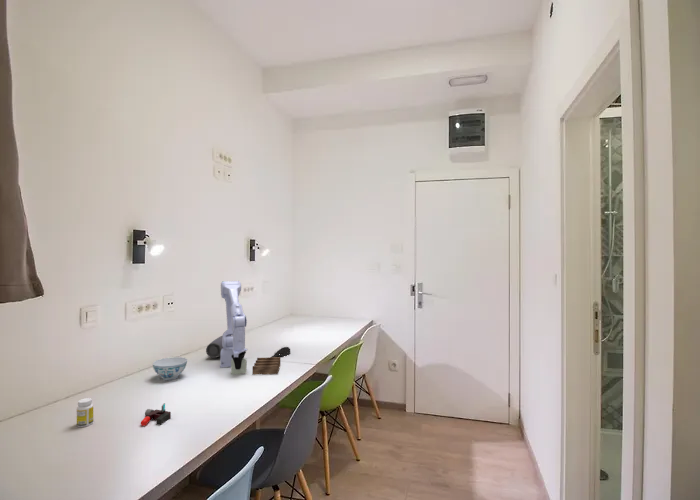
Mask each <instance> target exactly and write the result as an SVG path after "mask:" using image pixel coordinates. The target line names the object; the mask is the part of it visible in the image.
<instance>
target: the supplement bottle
mask: <svg viewBox="0 0 700 500" xmlns="http://www.w3.org/2000/svg"><path fill="white" fill-rule="evenodd" d="M92 424H94V404H93V399H92V398H91V397H85V398H81V399H80V400H78V401H77V407H76V426H77V427H78V428H86V427H89V426H91V425H92Z"/></svg>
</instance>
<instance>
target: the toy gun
mask: <svg viewBox="0 0 700 500" xmlns="http://www.w3.org/2000/svg"><path fill="white" fill-rule="evenodd" d="M171 414H172V413H171V411H166V403H163V404H161V409H152V408H151V409H150V408H147V409H146V410H145V412H144V418H143V419H142V420H141V421H140V425H141V427H145V426H147V425H148V423H149V422H150V421H156V423H155V424H156V425H159V426H161V425H163V424H164V423H165V422H167V421H168V420H170V419H171V417H172V415H171Z"/></svg>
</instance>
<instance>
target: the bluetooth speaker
mask: <svg viewBox="0 0 700 500" xmlns="http://www.w3.org/2000/svg"><path fill="white" fill-rule="evenodd" d="M228 336H232V335H228ZM222 348H223V346H222V335H221V336H218V337H217V338H216V339H213V341H211V342H210V343H209V344H208V345H207V346H206V348H205V349H206V350H205V352H206V354H207V355H206V356H208V357H209V358H212V359H216V358H220V354H221V349H222Z"/></svg>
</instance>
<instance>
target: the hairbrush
mask: <svg viewBox="0 0 700 500" xmlns="http://www.w3.org/2000/svg"><path fill="white" fill-rule="evenodd" d="M279 354H280V355H279ZM290 354H291V348H290V347H289V346H282V347H280V348H279V349H277V350H275V351H274V353H273V355H271V356H270V357H280V358H285V357H288V356H290ZM287 355H288V356H287ZM284 356H285V357H284Z"/></svg>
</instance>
